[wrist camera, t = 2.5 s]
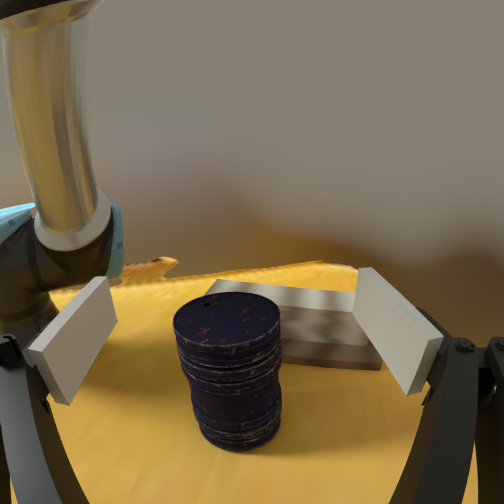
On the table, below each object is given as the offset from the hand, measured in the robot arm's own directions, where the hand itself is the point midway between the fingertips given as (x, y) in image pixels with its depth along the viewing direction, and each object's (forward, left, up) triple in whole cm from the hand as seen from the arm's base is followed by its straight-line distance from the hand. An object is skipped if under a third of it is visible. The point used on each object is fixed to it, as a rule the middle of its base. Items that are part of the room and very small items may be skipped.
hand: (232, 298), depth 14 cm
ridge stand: (-13, +24, -22) cm, 35 cm away
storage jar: (-6, +6, -22) cm, 24 cm away
